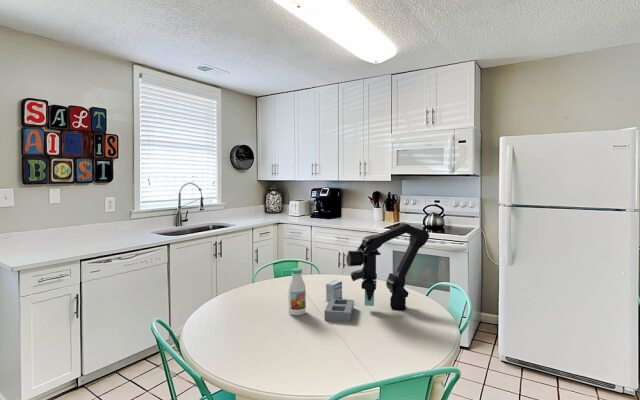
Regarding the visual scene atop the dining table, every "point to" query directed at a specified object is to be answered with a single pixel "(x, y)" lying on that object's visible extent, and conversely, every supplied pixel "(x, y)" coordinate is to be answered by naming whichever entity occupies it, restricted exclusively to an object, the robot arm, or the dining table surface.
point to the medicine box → (334, 290)
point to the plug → (367, 302)
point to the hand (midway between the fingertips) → (369, 298)
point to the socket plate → (339, 310)
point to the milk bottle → (296, 294)
